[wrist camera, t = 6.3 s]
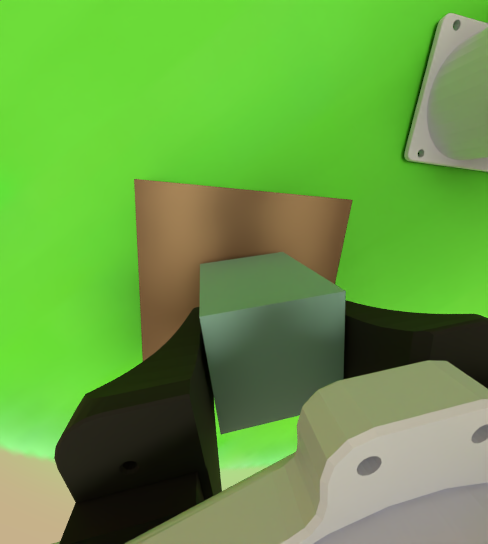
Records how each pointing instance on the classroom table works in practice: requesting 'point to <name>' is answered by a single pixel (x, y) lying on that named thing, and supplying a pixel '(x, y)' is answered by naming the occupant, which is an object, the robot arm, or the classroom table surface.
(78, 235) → the classroom table surface
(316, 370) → the teal block
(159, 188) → the walnut base
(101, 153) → the classroom table surface
